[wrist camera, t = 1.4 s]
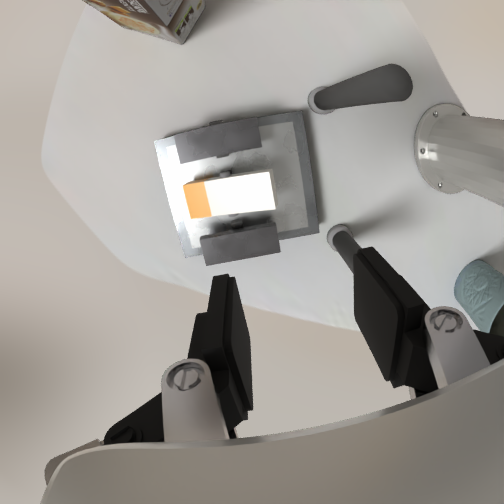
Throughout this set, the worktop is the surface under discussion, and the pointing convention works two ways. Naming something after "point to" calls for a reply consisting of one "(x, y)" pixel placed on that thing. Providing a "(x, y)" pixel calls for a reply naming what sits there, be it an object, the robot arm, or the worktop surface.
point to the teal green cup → (482, 296)
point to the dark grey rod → (343, 243)
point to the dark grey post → (363, 90)
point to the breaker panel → (237, 161)
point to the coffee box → (153, 16)
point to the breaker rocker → (231, 194)
